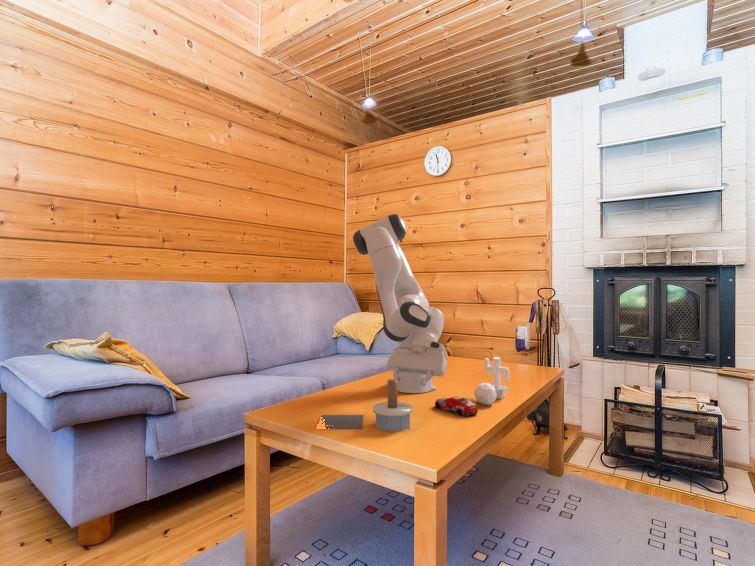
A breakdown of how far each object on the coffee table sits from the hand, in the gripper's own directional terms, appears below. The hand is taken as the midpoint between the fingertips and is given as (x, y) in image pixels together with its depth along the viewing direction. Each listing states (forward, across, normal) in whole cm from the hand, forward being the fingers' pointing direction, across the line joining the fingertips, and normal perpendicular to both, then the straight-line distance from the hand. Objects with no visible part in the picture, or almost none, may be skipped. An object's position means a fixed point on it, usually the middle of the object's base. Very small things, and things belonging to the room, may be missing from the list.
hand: (409, 382), depth 138 cm
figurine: (-20, +17, +37) cm, 45 cm away
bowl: (+15, 0, +1) cm, 15 cm away
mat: (+19, -16, -3) cm, 25 cm away
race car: (-2, +10, +19) cm, 22 cm away
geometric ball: (-12, +16, +28) cm, 35 cm away
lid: (+12, 0, -3) cm, 12 cm away
